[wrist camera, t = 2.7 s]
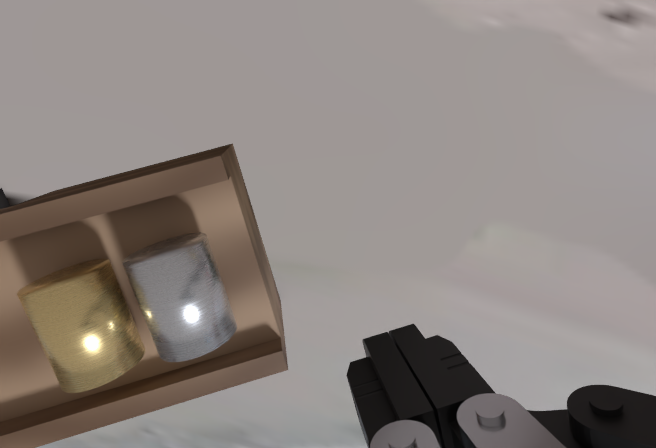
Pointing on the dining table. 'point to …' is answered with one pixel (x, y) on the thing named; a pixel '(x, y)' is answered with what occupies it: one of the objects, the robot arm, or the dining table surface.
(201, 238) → the steel slug
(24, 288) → the brass slug
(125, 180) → the brown open channel
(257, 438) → the dining table surface
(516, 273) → the dining table surface
